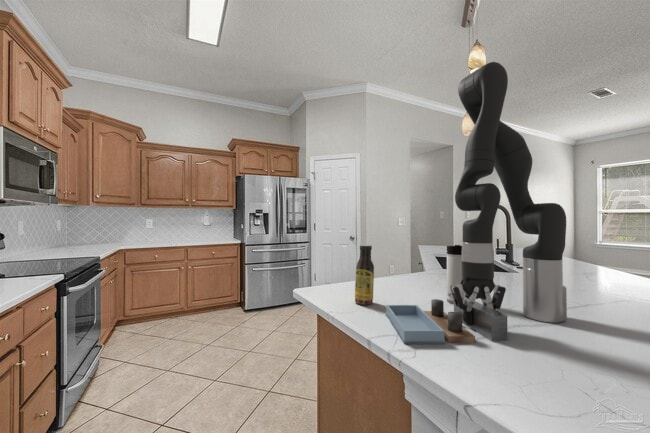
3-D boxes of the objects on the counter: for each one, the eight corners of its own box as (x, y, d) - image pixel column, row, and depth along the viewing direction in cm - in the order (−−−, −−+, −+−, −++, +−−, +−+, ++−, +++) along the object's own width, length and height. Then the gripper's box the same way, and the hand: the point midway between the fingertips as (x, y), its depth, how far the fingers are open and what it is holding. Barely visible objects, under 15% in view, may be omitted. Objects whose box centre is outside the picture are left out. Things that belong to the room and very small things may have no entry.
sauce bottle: (352, 304, 95) (351, 245, 96) (358, 299, 101) (358, 243, 101) (370, 307, 92) (370, 246, 92) (376, 302, 98) (376, 244, 98)
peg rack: (443, 316, 83) (442, 297, 83) (474, 342, 65) (474, 318, 65) (422, 316, 83) (422, 297, 84) (449, 342, 65) (448, 318, 66)
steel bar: (466, 317, 83) (466, 297, 83) (507, 341, 67) (507, 315, 67) (453, 318, 82) (453, 297, 82) (491, 342, 66) (491, 316, 66)
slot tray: (417, 315, 84) (416, 305, 84) (444, 344, 65) (444, 331, 65) (386, 315, 84) (386, 305, 84) (404, 344, 65) (404, 330, 65)
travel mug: (448, 304, 95) (447, 245, 95) (445, 299, 101) (445, 243, 102) (468, 306, 93) (468, 245, 93) (465, 300, 100) (464, 243, 100)
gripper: (495, 257, 78) (496, 319, 78) (444, 257, 78) (444, 319, 78) (513, 261, 71) (514, 330, 71) (456, 261, 71) (457, 330, 71)
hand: (477, 324), depth 74 cm, fingers closed on steel bar, 4 cm apart
